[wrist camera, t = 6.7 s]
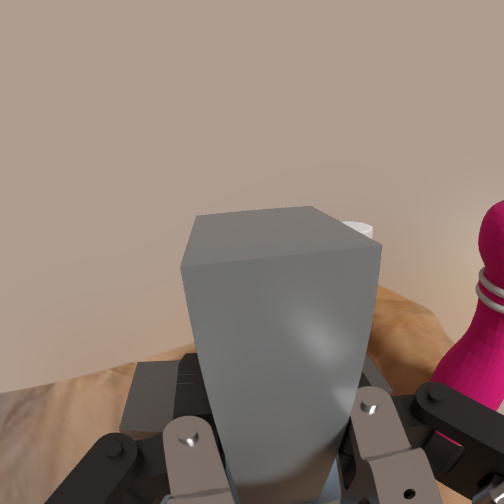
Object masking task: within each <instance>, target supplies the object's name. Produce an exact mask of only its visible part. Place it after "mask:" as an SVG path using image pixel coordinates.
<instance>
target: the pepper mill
mask: <svg viewBox="0 0 504 504" xmlns="http://www.w3.org/2000/svg"><path fill="white" fill-rule="evenodd" d="M478 245H479V252H480V255H481V257H482V260H483V262H484V265H485V267H483V268H482V269H481V270H480V272H479V282H478V283H477V285H476V293H477V295H478V297H479V299H478V304H477V308H476V312H475V315H474V317H473V320H472V322H471V325H470V327H469V328H468V330H467V332H466V333H465V334H464V335H463V337H462V338H461V339H460V340H459V341H458V342H457V343H456V344H455V345H454V346H453V347H452V348H451V349H450V350H449V351H448V352H447V353H446V354H445V356H444V357H443V358H442V359H441V361H440V362H439V364H438V365H437V367H436V369H435V371H434V373H433V376H432V378H431V382H432V381H433V382H440V383H443V384H445V385H447V386H449V387H451V388H453V389H454V390H456V391H458V392H460V393H462V394H464V395H466V396H467V397H469V398H471V399H473V400H475V401H477V402H479V403H481V404H483V405H485V406H486V407H488V408H490V409H492V410H494V411H497V409H498V408H499V406H500V405H501V403H502V401H503V399H504V200H503V201H501V202H499V203H497V204H495V205H493V206H492V207H491V208H490V209H489V210H488V211H487V213H486V215H485V216H484V218H483V221H482V224H481V228H480V232H479V241H478ZM436 433H438V434H440V435H441V436H443V437H445V438H446V439H448V440H450V441H451V442H453V443H455V444H456V445H458V443H457V442H455V441H453V440H452V439H450V438H448V437H447V436H445V435H443V434H441V433H440V432H438V431H436Z"/></svg>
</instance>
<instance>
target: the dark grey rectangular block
mask: <svg viewBox="0 0 504 504" xmlns="http://www.w3.org/2000/svg"><path fill="white" fill-rule="evenodd" d="M180 361H181V360H176V361H155V362H138V364H137V367H136V370H135V374H134V377H133V380H132V384H131V387H130V391H129V394H128V398H127V402H126V405H125V409H124V413H123V417H122V421H121V425H120V429H119V430H120V432H121V433H123V434H126V435H128V436H130V437H131V438H132V439H133V440H134V441H137V440H142V439H146V438H150V437H154V436H157V435H159V434H161V433H162V432H163V431H164V429H165V427H166V426H167V425H168V424H169V423H170V422H171V421H172V419H173V411H174V401H175V392H176V385H177V376H178V366H179V362H180ZM362 372H363V373H364V375H365V376H366V378H367V379H368V381H369V382H370V384H371V385H372V386H373V387H378V388H381V389H383V390H384V391H386V392H387V393H388V394H389V395H390V396H392V395H393V393H394V391H393V390H392V388H391V387H390V385H389V384H388V382H387V381H386V380H385V378H384V377H383V375H382V374H381V373H380V371H379V370H378V368H377V367H376V366H375V364H374V363H373V362H372V360H371V359H370V357H369V356H368V355H367V353H366V355H365V360H364V364H363V369H362Z"/></svg>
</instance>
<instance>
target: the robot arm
mask: <svg viewBox="0 0 504 504" xmlns="http://www.w3.org/2000/svg"><path fill="white" fill-rule="evenodd" d="M436 431H438V432H440V433H441V434H443V435H445V436H447V437H448V438H450V439H452V440H453V441H455V442H457V443H458V444H460V445H462V446H458V445H456V444H455V443H453V442H451V441H450V440H448V439H446V438H445V437H443V436H441V435H440V434H438V433H436ZM336 463H337V469H338V475H339V482H340V488H341V499H340V504H443V502H442V499H441V496H440V493H439V490H438V487H437V484H436V481H435V479H436V480H437V481H439V482H441V483H442V484H444V485H446V486H447V487H449V488H451V489H452V490H454V491H456V492H457V493H459V494H461V495H463V496H464V497H466V498H468V499H470V500H472V504H504V415H502V414H500V413H498V412H496V411H494V410H492V409H490V408H488V407H486V406H485V405H483V404H481V403H479V402H477V401H475V400H473V399H471V398H469V397H467V396H466V395H464V394H462V393H460V392H458V391H456V390H454V389H453V388H451V387H449V386H447V385H445V384H443V383H440V382H433V381H432V382H427V383H424V384H423V385H421V386H420V387H419V388H418V390H417V392H416V394H415V395H405V396H390V395H389V394H388V393H387V392H386V391H384V390H383V389H381V388H378V387H373V386H372V385H371V384H370V382H369V381H368V379H367V378H366V376H365V375H364V373H363V372H362V373H361V377H360V381H359V385H358V389H357V392H356V396H355V400H354V403H353V407H352V410H351V413H350V417H349V420H348V423H347V426H346V429H345V432H344V435H343V438H342V441H341V444H340V447H339V450H338V452H337V455H336ZM170 494H171V497H170V498H168V504H237V501H236V498H235V496H234V493H233V490H232V487H231V484H230V481H229V478H228V475H227V472H226V461H225V454H224V450H223V447H222V444H221V441H220V438H219V434H218V431H217V427H216V424H215V421H214V417H213V413H212V410H211V406H210V403H209V399H208V395H207V391H206V387H205V383H204V379H203V375H202V371H201V367H200V363H199V359H198V354H197V353H189V354H185V355H184V357H183V358H182V360H181V361H180V362H179V366H178V376H177V385H176V392H175V401H174V411H173V419H172V421H171V422H170V423H169V424H168V425H167V426H166V427H165V429H164V431H163V432H162V433H161V434H159V435H157V436H154V437H150V438H146V439H142V440H137V441H134V440H133V439H132V438H131V437H130V436H128V435H126V434H123V433H109V434H106V435H104V436H102V437H101V438H99V439H98V440H97V442H96V443H95V444H94V445H93V446H92V448H91V449H90V450H89V451H88V452H87V453H86V455H85V456H84V457H83V458H82V459H81V461H80V462H79V463H78V464H77V465H76V467H75V468H74V469H73V470H72V471H71V472H70V474H69V475H68V476H67V477H66V478H65V480H64V481H63V482H62V483H61V484H60V485H59V487H58V488H57V489H56V490H55V491H54V493H53V494H52V495H51V496H50V497H49V499H48V500H47V501H46V502H45V503H44V504H161V502H162V500H163V499H164V497H165V496H166V495H170Z"/></svg>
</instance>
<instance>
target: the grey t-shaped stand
mask: <svg viewBox="0 0 504 504" xmlns="http://www.w3.org/2000/svg"><path fill="white" fill-rule="evenodd" d="M381 250H382V245H381V244H379V243H378V242H376V241H374V240H372V239H371V238H369V237H367V236H365V235H364V234H362V233H360V232H358V231H356V230H355V229H353V228H351V227H349V226H347V225H346V224H344V223H342V222H340V221H338V220H336V219H335V218H333V217H331V216H329V215H327V214H325V213H323V212H321V211H319V210H317V209H315V208H314V207H312V206H304V207H291V208H290V207H289V208H276V209H263V210H251V211H241V212H229V213H219V214H209V215H200V216H196V219H195V222H194V225H193V228H192V231H191V234H190V237H189V241H188V243H187V246H186V250H185V253H184V256H183V259H182V263H181V266H180V268H181V274H182V280H183V285H184V291H185V296H186V302H187V307H188V312H189V317H190V322H191V327H192V332H193V336H194V341H195V346H196V350H197V354H198V359H199V363H200V367H201V371H202V375H203V379H204V383H205V387H206V391H207V395H208V399H209V403H210V406H211V410H212V413H213V417H214V421H215V424H216V427H217V431H218V434H219V438H220V441H221V444H222V447H223V450H224V454H225V461H226V472H227V475H228V478H229V481H230V484H231V487H232V490H233V493H234V496H235V498H236V501H237V504H340V499H341V488H340V482H339V475H338V469H337V463H336V455H337V452H338V450H339V447H340V444H341V441H342V438H343V435H344V432H345V429H346V426H347V423H348V420H349V417H350V413H351V410H352V407H353V403H354V400H355V396H356V392H357V389H358V385H359V381H360V377H361V373H362V369H363V364H364V360H365V355H366V351H367V346H368V341H369V336H370V331H371V325H372V320H373V314H374V307H375V301H376V294H377V287H378V279H379V270H380V260H381ZM170 497H171V494H170V495H166V496H165V497H164V499H163V500H162V502H161V504H168V498H170Z"/></svg>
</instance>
